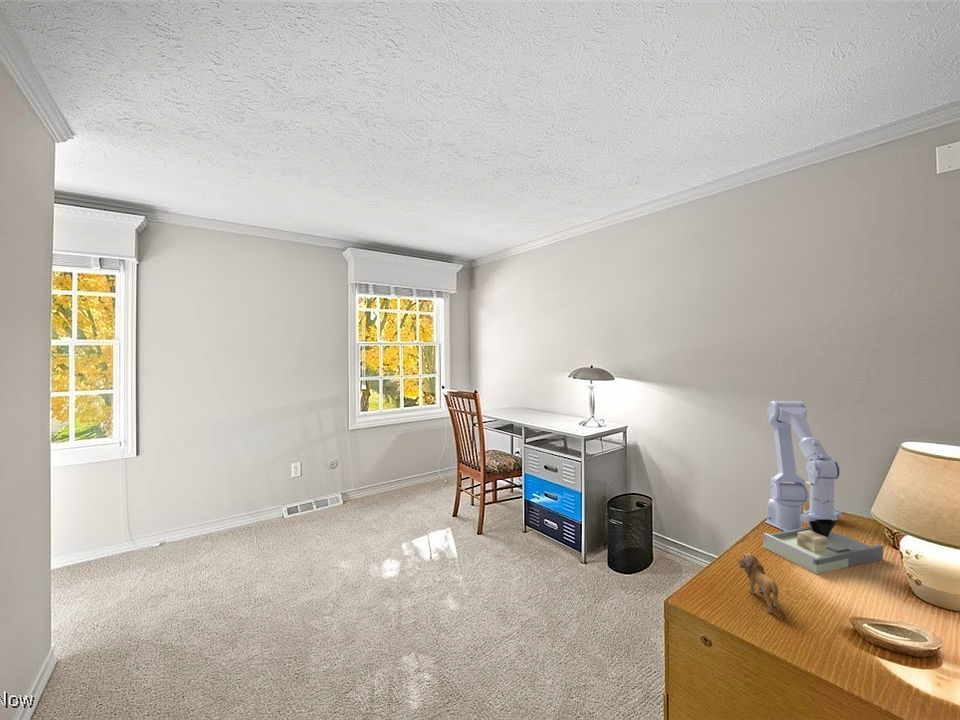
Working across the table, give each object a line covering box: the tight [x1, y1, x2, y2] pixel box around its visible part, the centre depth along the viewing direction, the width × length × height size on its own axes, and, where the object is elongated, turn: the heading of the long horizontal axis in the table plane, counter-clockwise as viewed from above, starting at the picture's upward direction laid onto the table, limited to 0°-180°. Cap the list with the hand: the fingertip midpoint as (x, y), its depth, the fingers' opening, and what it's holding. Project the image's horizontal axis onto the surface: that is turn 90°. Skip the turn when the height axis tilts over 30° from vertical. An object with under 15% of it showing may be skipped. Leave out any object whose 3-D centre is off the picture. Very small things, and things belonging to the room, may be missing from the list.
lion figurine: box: [736, 553, 787, 617], centre depth 106 cm, size 15×5×9 cm, turn 3°
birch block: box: [797, 530, 827, 553], centre depth 127 cm, size 5×5×4 cm
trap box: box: [762, 525, 884, 575], centre depth 129 cm, size 16×27×4 cm, turn 107°
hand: (820, 542), depth 129 cm, fingers closed
